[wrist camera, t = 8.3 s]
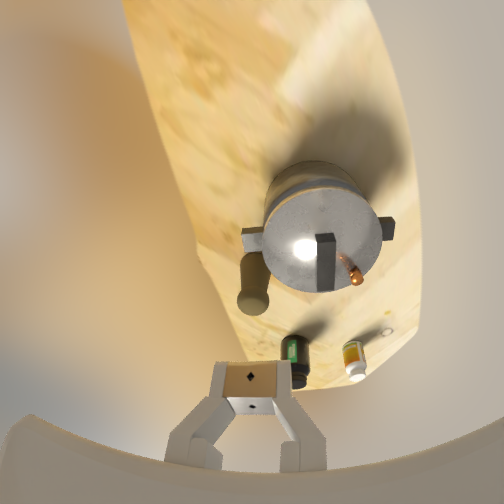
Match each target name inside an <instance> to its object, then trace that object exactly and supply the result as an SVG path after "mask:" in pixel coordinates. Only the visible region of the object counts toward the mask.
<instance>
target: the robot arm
mask: <svg viewBox="0 0 504 504" xmlns="http://www.w3.org/2000/svg"><path fill="white" fill-rule="evenodd" d="M254 414H255V415H257V414H258V415H276V416H277V418H278V419H279V421H280V423H281V424H282V426H283V427H284V429H285V431H286V432H287V434H288V435H289V437H290V438H291V440H292V441H287V442H284V443H282V444H281V457H280V473H253V472H235V471H223V470H221V469H222V459H223V455H222V454H221V452H219V451H218V450H217V449H216V448H215V447H214V446H213V445H214V443H215V442H216V441H217V440H218V438H219V437H220V436H221V435H222V433H223V432H224V431H225V429H226V428H227V427H228V425H229V424H230V423H231V421H232V420H233V419H234V417H235V416H236V415H254ZM0 504H504V417H502V418H500V419H499V420H496V421H495V422H493V423H491V424H489V425H487V426H484V427H482V428H480V429H478V430H476V431H474V432H471V433H469V434H467V435H464V436H462V437H460V438H457V439H454V440H452V441H449V442H447V443H444V444H441V445H438V446H436V447H432V448H429V449H426V450H423V451H420V452H416V453H413V454H409V455H406V456H402V457H398V458H394V459H390V460H385V461H381V462H376V463H371V464H366V465H361V466H355V467H347V468H340V469H332V470H327V460H326V438H325V437H324V435H323V434H322V433H321V432H320V430H319V429H318V428H317V426H316V425H315V424H314V423H313V421H312V420H311V419H310V417H309V416H308V415H307V413H306V412H305V411H304V409H303V408H302V407H301V405H300V404H299V403H298V401H297V400H296V399H295V397H292V375H291V361H290V360H278V361H277V360H274V361H255V362H216V363H215V365H214V370H213V376H212V381H211V387H210V393H209V397H205V398H204V399H203V400H202V401H201V402H200V403H199V404H198V405H197V406H196V407H195V408H194V409H193V410H192V411H191V413H189V414H188V415H187V416H186V418H185V419H184V420H183V421H182V422H181V423H180V424H179V425H178V426H177V427H176V428H175V429H174V430H173V431H172V432H171V433H170V436H169V440H168V445H167V449H166V454H165V459H164V462H163V461H159V460H155V459H150V458H146V457H142V456H138V455H134V454H131V453H127V452H124V451H121V450H117V449H114V448H111V447H108V446H105V445H102V444H99V443H96V442H93V441H91V440H88V439H86V438H83V437H80V436H78V435H75V434H73V433H71V432H68V431H66V430H64V429H62V428H59V427H57V426H55V425H53V424H51V423H48V422H47V421H45V420H43V419H41V418H39V417H37V416H35V415H32V414H29V415H27V416H25V417H23V418H22V419H20V420H19V421H18V422H16V423H15V424H14V425H13V426H12V427H11V428H10V430H9V431H8V433H7V435H6V437H5V440H4V442H3V445H2V447H1V450H0Z"/></svg>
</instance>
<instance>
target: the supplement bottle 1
mask: <svg viewBox="0 0 504 504" xmlns="http://www.w3.org/2000/svg"><path fill="white" fill-rule="evenodd" d="M281 360H290V361H291V375H292V389H301V388H303V387H305V386H306V384H307V382H306V380H307V377H306V376H308V374H309V373H310V357H309V345H308V341H307V339H305V338H304V337H302V336H289V337H287V338H285V339H284V340H283V341H282V342H281Z"/></svg>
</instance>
